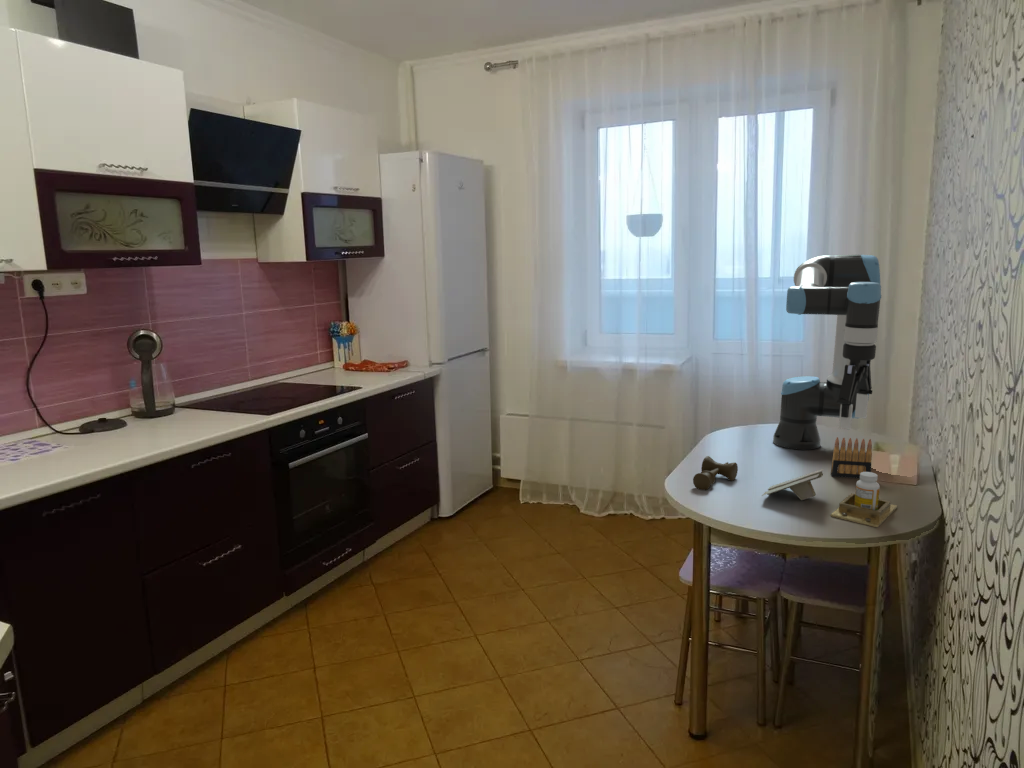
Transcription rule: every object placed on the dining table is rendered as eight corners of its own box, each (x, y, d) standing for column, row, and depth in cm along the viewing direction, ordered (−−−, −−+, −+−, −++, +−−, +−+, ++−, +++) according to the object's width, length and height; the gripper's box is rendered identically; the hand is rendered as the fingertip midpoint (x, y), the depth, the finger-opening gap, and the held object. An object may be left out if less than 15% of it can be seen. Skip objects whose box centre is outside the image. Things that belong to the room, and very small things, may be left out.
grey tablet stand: (780, 523, 183) (830, 493, 177) (760, 495, 186) (808, 464, 179) (789, 512, 197) (836, 483, 191) (770, 486, 200) (815, 457, 194)
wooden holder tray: (852, 498, 189) (853, 489, 189) (896, 507, 182) (897, 498, 181) (830, 516, 177) (831, 506, 177) (877, 527, 170) (878, 517, 169)
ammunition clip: (831, 476, 207) (834, 437, 204) (830, 474, 209) (833, 436, 206) (870, 479, 204) (874, 440, 202) (869, 477, 206) (873, 438, 203)
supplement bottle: (867, 505, 182) (870, 469, 181) (882, 512, 177) (885, 476, 175) (849, 507, 181) (852, 471, 179) (864, 514, 176) (867, 478, 174)
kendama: (684, 488, 201) (712, 468, 216) (716, 496, 195) (742, 475, 210) (685, 468, 199) (713, 450, 214) (717, 476, 193) (744, 456, 208)
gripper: (858, 335, 189) (852, 411, 194) (828, 348, 171) (821, 431, 175) (889, 338, 184) (881, 415, 189) (861, 351, 166) (853, 436, 171)
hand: (852, 423), depth 182 cm, fingers open, 13 cm apart
